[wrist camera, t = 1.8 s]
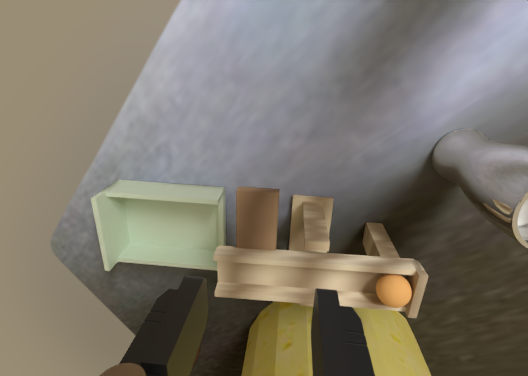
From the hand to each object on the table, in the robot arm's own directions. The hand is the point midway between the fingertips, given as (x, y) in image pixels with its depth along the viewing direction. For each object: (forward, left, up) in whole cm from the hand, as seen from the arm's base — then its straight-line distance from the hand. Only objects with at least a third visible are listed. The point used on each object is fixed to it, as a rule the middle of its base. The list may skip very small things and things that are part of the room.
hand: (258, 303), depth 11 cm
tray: (+12, -14, -27) cm, 33 cm away
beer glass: (+1, +20, -27) cm, 34 cm away
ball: (+12, +12, -16) cm, 23 cm away
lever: (+9, +4, -19) cm, 21 cm away
